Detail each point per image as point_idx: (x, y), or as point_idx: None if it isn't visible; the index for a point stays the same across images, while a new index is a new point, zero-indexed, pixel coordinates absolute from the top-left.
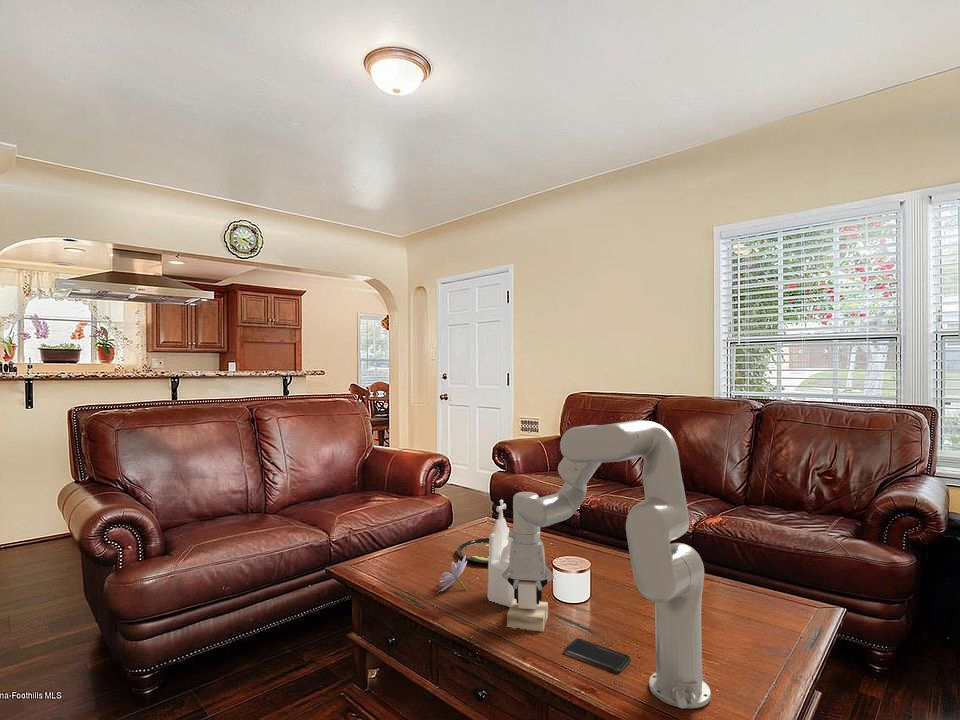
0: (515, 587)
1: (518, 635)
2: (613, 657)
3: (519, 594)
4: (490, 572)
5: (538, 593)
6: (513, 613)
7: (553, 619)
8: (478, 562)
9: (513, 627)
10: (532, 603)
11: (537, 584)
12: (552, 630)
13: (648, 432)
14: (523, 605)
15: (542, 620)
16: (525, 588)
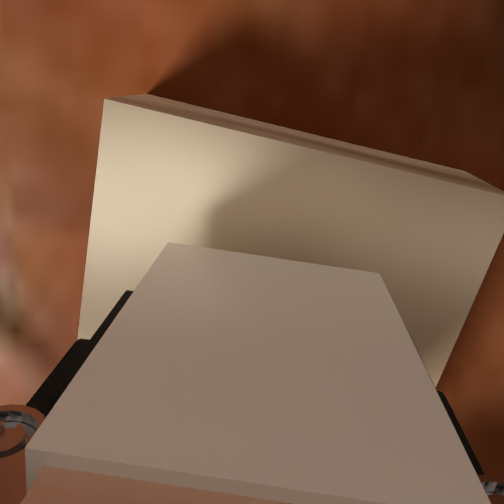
0: (492, 500)
1: (380, 13)
2: None
3: (402, 363)
4: None
5: (73, 363)
6: (438, 212)
7: (66, 297)
8: None
9: (409, 158)
10: (203, 273)
11: (12, 501)
12: (68, 114)
13: None
14: (322, 277)
15: (121, 99)
16: (300, 419)
